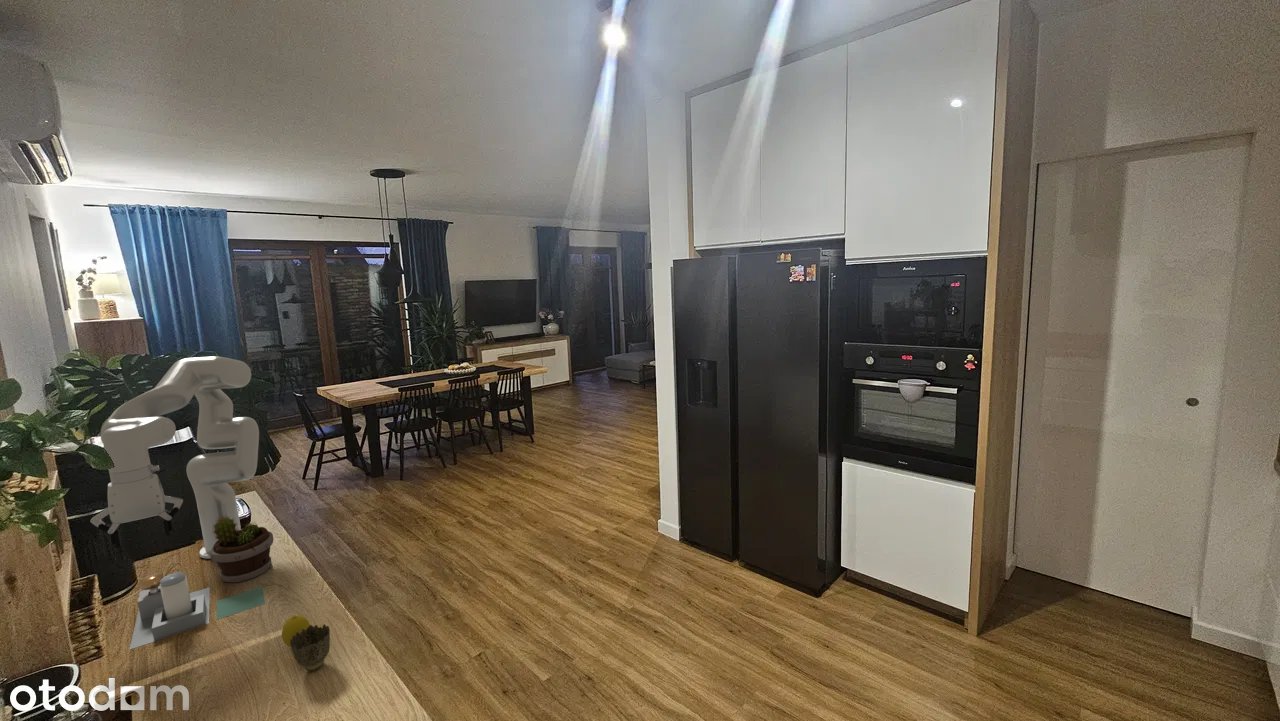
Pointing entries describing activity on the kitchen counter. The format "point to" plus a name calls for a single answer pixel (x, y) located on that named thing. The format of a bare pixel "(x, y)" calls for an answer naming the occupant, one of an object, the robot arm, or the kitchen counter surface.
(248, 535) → the flowerpot
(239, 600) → the mat
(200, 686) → the kitchen counter surface
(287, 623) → the lemon
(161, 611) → the grey base with tray
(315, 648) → the spiky dark pot
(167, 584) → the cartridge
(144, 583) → the plunger
